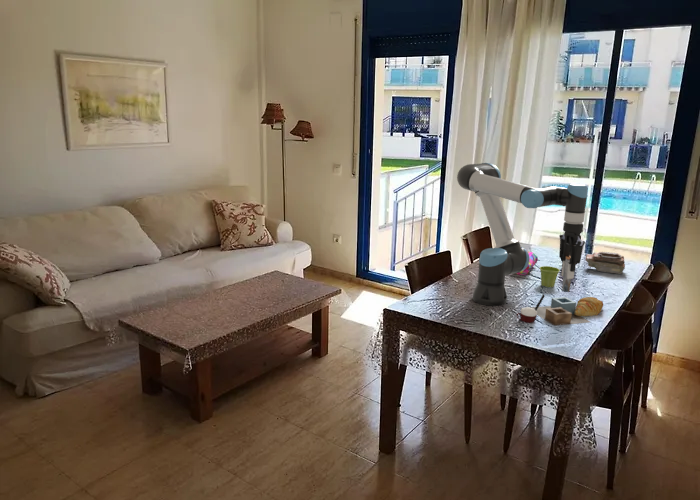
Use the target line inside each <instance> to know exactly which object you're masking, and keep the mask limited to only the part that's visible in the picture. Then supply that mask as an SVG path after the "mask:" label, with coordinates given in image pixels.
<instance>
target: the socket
mask: <svg viewBox="0 0 700 500" xmlns="http://www.w3.org/2000/svg"><path fill="white" fill-rule="evenodd" d="M550 306H551V308H558V307H561V308H563V309H565V310H567V311H568V312H570V313H572V314H574V313H575V309H576V306H577V302H576V301H574V300H572V299H570V298H569V297H566V296H562V297H551V301H550Z"/></svg>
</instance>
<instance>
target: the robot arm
mask: <svg viewBox="0 0 700 500" xmlns="http://www.w3.org/2000/svg"><path fill="white" fill-rule="evenodd" d="M501 175H502V174H501V171H500V169H499V168H498V167H497V166H496V165H495V164H493V163H491V162H490V163H489V162H481V163H469V164H468V163H467V164H466V165H464V166H462V167H461V168H460V169H459V170H458V172H457V174H456V180H457V183H458V185H459V187H461V188H462V189H464V190H467V191H470V192H474V194H475V196H477V197H478V198H480V201H481V204H482V206H483V211H484V212H485V216H486V219H487V222H488V225H489V228H490V231H491V233H492V236H493V239H494V242H495V246H494V247H489V248H485V249H483V250H482V251H481V252H480V254H479V255H480V256H479V259H478V275H477V283H476V286H475V288H474V291H473V293H472V300H473V301H474V302H475V303H477V304H479V305H483V306H489V307H499V306H504V305H506V304H507V302H508V295H507V291H506V287H505V283H506V276H510V275H514V274H516V273H519V272H521V271H523V270H525V269H526V268H527V266H528V264H529V260H530V258H529V253H528V252H529V251H528V250H527V249H526V248H525V247H523V246H521V244H520V241H519V240H517V239H515V237H514V234H513V232H512V228H511V225H510V222H509V220H508V215H507V214H506V211H505V208H504V204H503V202H502V199H505V200H508V201H512V202H515V203H519V204H521V205H522V206H524V207H525V208H527V209H538V208H541V207H542V208H543V207H549V206H561V207H565V211H564V217H563V218H564V219H563V221H564V222H563V228H562V231H564V233H563V234H559V252H558V254H559V256H558V257H559V258H560V259H561V260H562V263H561V275H560V276H562V277H564V269H565V260H566V256H570V262H569V263H568V272H567V279H571V280H572V279H575V271H576V265H577V264H580V263H581V259H582V254H583V250H584V246H585V243H586V242H585V240H582V239H581V234H582V233H583V231H584V222H585V213H586V207H587V199H588V186H587V185H586V184H582V183H569V184H568V185H567V187H561V186H553V185H543V186H542V187H540V188H537V187H534V186H533V187H532V186H529V185H525V184H523V183H522V184H521V183H518V182H514V181H511V180H507V179H503V178H502V176H501ZM501 198H502V199H501Z"/></svg>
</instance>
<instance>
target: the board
mask: <svg viewBox="0 0 700 500" xmlns="http://www.w3.org/2000/svg"><path fill="white" fill-rule="evenodd" d="M535 307H536V306H535ZM535 307H534V306H533V307H531V308H533V309H535ZM546 308H551V305H546V306H543V305H542V306H539V307H538V309H537V310H536V311H537V316H538V317H540V318H542V319H543V320H545V321H546V322H547V323H549V324H550V325H553V326H554V327H556V326H558V327H559V326H565V325H578V324H587V323H591V321H589V320H588V319H586V318H584V316H576V315H575V314H572V315H571V323H561V324H555V323H553V322H551V321H550V320H548V319H547V318H545V314H546Z"/></svg>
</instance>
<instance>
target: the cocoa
mask: <svg viewBox="0 0 700 500" xmlns="http://www.w3.org/2000/svg"><path fill="white" fill-rule="evenodd" d="M545 297H546V295H545V294H542V295H541V297H540V299H539V300H538V302H537V304H536V306H535V309H533V308H532V307H530V306H526V307H521V309H520V312H518V313H516V318H517V319H518V320H519V321H521V322H523V323H526V324H532V323H535V321H536V319H537V316H538V315H537V311H536V310H537V309H538V307H540V305H541V304H542V302H543V300H544V298H545ZM518 316H520V317H518Z"/></svg>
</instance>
